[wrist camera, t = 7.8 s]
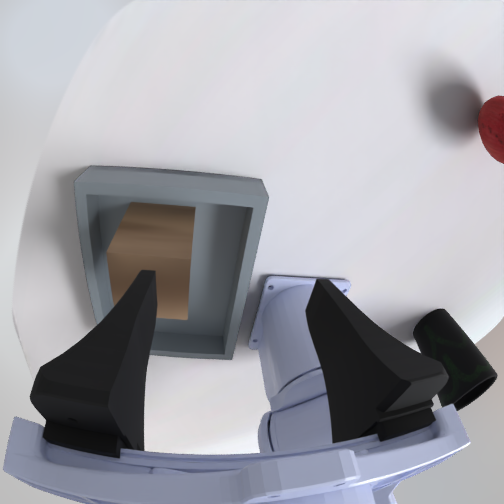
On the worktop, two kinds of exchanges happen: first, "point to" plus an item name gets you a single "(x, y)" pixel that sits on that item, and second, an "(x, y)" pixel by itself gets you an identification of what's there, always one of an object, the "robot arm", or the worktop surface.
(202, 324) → the tray
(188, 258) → the block
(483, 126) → the pomegranate
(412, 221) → the worktop surface
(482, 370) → the cup
